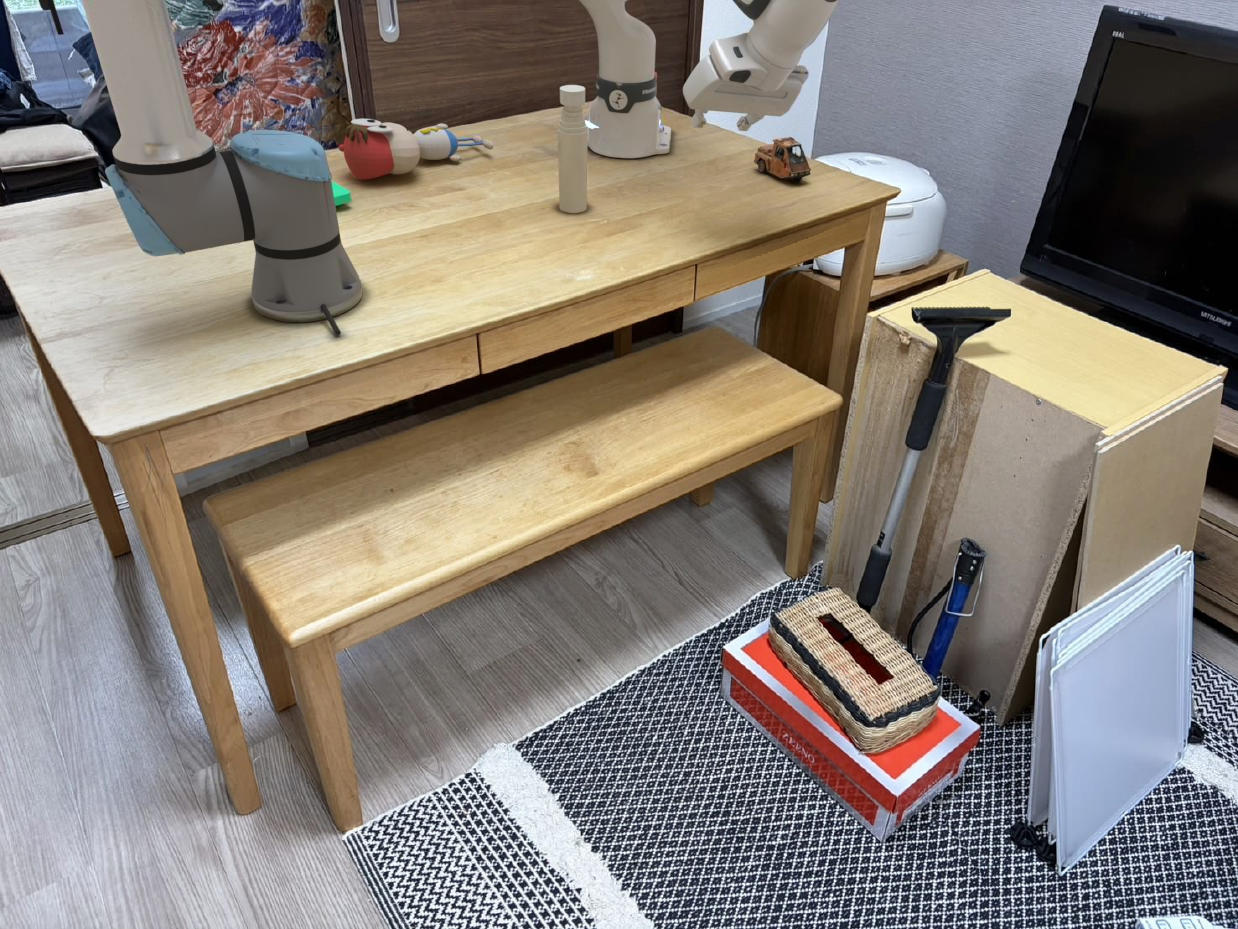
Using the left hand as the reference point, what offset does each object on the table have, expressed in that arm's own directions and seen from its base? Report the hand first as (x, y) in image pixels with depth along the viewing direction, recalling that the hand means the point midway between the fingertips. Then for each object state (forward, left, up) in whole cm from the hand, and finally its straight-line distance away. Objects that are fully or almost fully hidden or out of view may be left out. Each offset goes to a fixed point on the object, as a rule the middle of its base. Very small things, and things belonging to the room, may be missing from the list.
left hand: (108, 29), depth 146 cm
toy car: (-39, -108, -28) cm, 119 cm away
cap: (-36, -64, -8) cm, 74 cm away
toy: (-3, -47, -28) cm, 55 cm away
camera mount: (-14, -25, -28) cm, 40 cm away
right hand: (-50, -84, -12) cm, 99 cm away
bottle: (-36, -64, -28) cm, 78 cm away
